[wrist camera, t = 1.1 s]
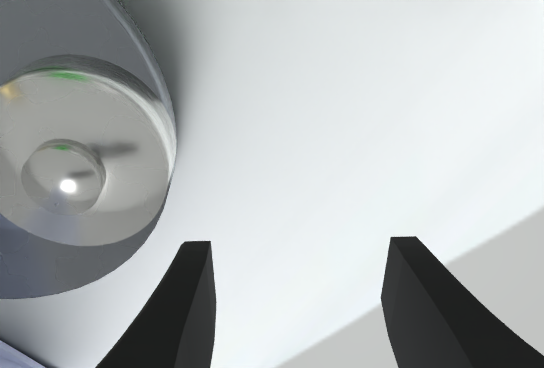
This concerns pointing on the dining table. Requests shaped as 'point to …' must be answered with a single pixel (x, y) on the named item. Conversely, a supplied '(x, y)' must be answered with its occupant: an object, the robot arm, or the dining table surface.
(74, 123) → the cover
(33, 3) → the turntable
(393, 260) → the robot arm
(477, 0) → the dining table surface
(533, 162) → the dining table surface
